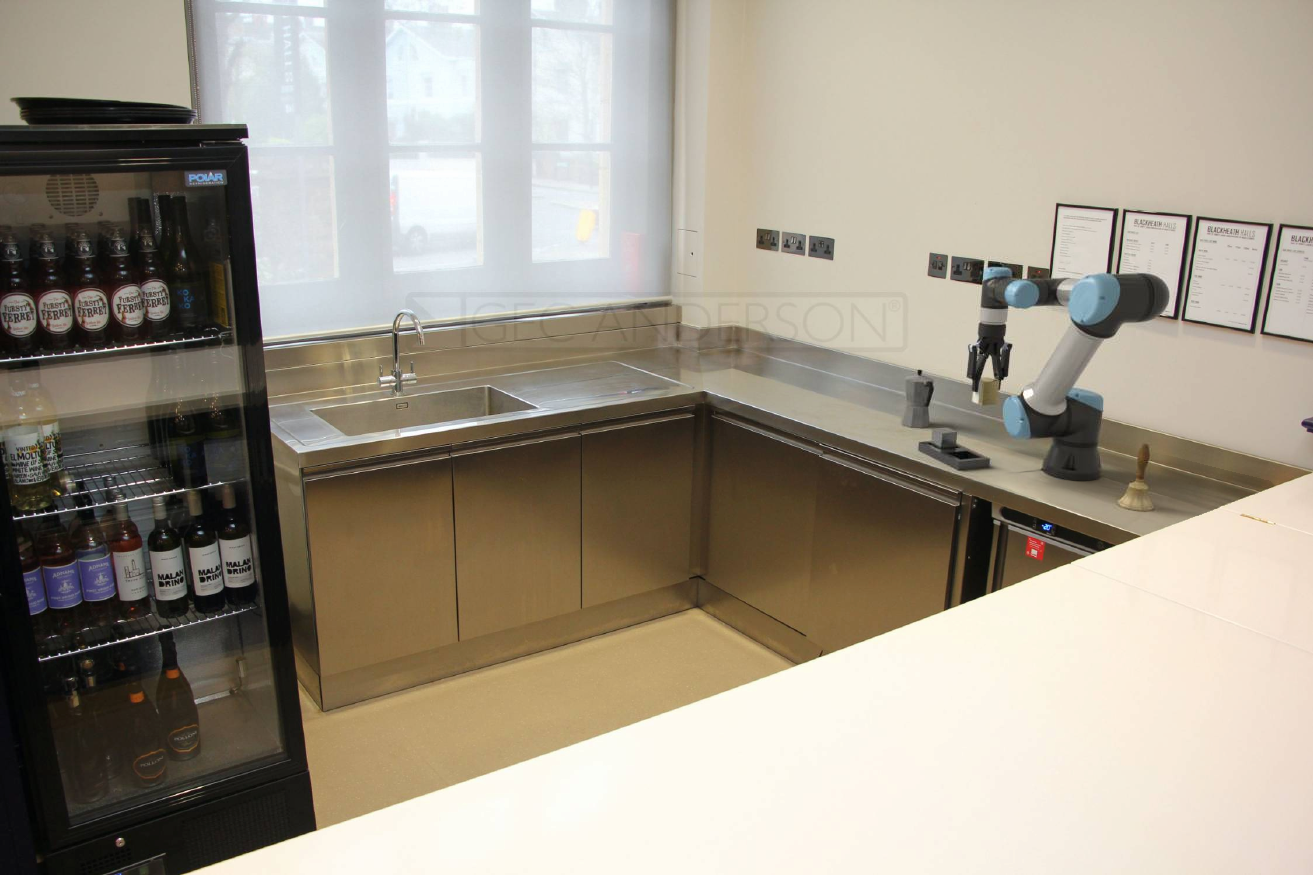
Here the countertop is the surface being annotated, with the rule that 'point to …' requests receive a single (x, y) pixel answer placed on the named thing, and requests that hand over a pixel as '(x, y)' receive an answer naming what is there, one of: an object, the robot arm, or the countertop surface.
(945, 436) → the grey block
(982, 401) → the yellow block
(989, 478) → the countertop surface
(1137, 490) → the hand bell
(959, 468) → the dark grey tray
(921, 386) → the coffeepot
